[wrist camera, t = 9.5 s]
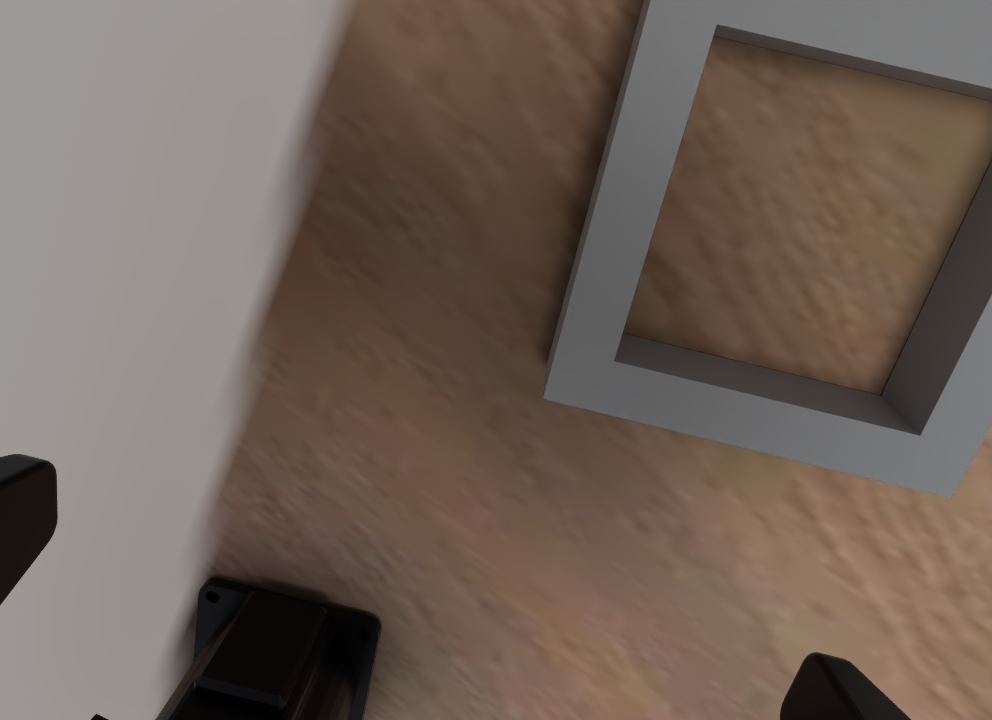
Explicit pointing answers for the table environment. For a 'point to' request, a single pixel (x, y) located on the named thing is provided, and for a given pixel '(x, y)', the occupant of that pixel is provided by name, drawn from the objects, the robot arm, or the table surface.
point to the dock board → (753, 389)
